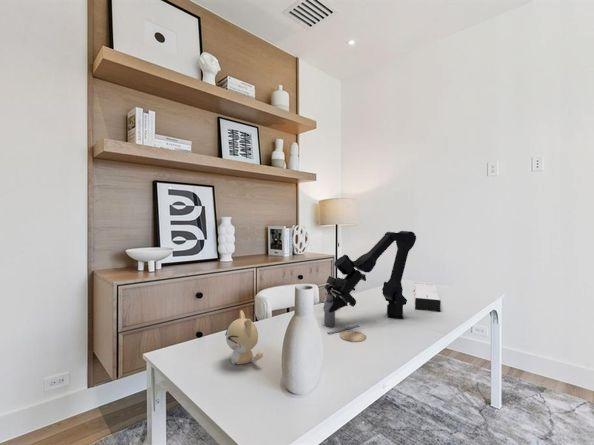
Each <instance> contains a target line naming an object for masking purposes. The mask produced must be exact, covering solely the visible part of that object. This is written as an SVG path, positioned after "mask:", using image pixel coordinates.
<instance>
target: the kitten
mask: <svg viewBox="0 0 594 445" xmlns="http://www.w3.org/2000/svg"><path fill="white" fill-rule="evenodd" d="M225 341H226V344H227V346H229V348H230V349H231V350H232V351H233V352H232V354H231V356H230V361H231V363H232V365H233V366H235V365H236V364H238V365H243V364H244V365H245V364H248V363H250V362H257V361H260V360H261V359H262V358H263V357H264V353H263V351H262V350H259V351H257V353H256V355H253V351H252V349H254V348H255V347H256V345H257V344H258V341H259V332H258V328H257V326H256V324H255V323H254V322H253V321H252V320H251V319H250V318H246V315H245V313H244V311H243V309H241V310H240V311H239V318H238V319H235V320H233V321H232V322H231V323H230V324H229V326H228V328H227V329H226V331H225Z"/></svg>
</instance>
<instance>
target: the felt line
mask: <svg viewBox="0 0 594 445" xmlns="http://www.w3.org/2000/svg"><path fill="white" fill-rule="evenodd" d="M359 327H361V326H360V325H359V324H356V325H355V324H354V325H352V326H351V325H350V326H348V327H344V328H339V329H336V330H333V331H329V332H327V335H329V336H330V335H334V334H337V333H341V332H344V331H350V330H352V329H357V328H359Z"/></svg>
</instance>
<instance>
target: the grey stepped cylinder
mask: <svg viewBox="0 0 594 445" xmlns="http://www.w3.org/2000/svg"><path fill="white" fill-rule="evenodd" d="M326 294H327V301H324V300H323V301H324V303H323V307H324V308H323V310H324V313H323V314H324V316H323V320H324V322H323V323H324V327H326V328H334V327H335V326H336V310H335V311H333V312H331V313H330V312H329V309H330V307H331V306H332V304H333V303H334V302H335V301H333V294H328V293H326Z"/></svg>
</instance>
